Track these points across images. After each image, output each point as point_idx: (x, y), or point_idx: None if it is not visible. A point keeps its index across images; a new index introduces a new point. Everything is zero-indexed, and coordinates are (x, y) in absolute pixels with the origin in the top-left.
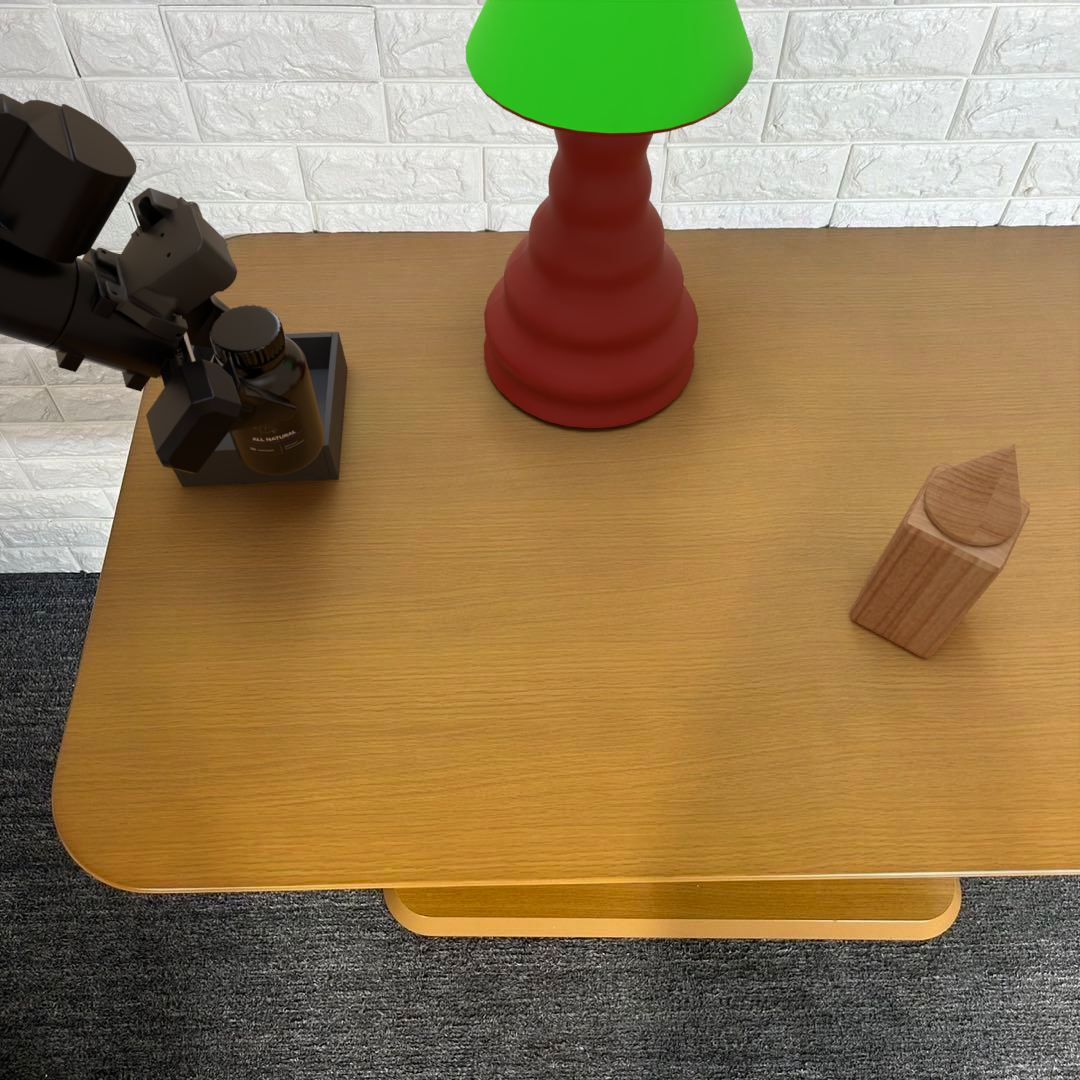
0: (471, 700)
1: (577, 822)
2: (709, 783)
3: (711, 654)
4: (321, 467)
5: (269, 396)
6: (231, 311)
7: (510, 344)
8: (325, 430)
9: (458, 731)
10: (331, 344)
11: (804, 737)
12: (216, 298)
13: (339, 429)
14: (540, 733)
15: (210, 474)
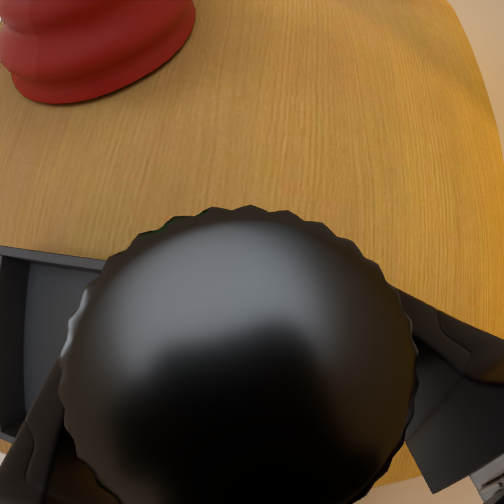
0: (440, 181)
1: (487, 145)
2: (459, 78)
3: (395, 40)
4: None
5: (404, 306)
6: (107, 468)
7: (101, 39)
8: None
9: (457, 195)
10: (13, 256)
11: (430, 33)
12: (3, 476)
13: None
14: (453, 145)
15: None
